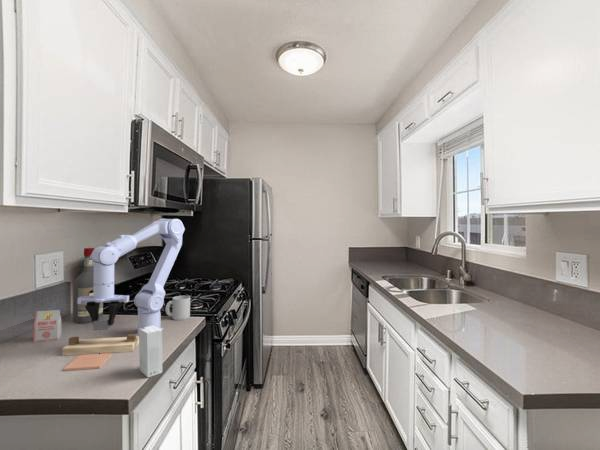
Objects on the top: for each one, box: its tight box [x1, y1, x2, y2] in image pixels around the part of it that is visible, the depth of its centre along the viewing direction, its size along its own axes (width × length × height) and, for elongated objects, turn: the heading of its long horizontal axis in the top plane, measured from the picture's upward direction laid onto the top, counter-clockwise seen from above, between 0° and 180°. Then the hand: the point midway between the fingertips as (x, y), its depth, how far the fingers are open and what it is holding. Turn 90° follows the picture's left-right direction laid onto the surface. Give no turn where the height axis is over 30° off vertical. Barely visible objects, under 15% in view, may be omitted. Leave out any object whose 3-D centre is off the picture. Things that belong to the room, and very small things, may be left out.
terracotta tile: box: [63, 353, 113, 372], centre depth 92 cm, size 9×9×1 cm
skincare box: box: [138, 325, 163, 378], centre depth 87 cm, size 6×4×12 cm
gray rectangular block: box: [92, 315, 114, 331], centre depth 101 cm, size 5×4×3 cm
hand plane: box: [61, 333, 139, 356], centre depth 101 cm, size 8×20×4 cm, turn 102°
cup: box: [165, 295, 191, 321], centre depth 134 cm, size 7×10×9 cm
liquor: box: [72, 247, 104, 324], centre depth 130 cm, size 9×9×30 cm
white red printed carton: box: [32, 309, 62, 342], centre depth 108 cm, size 4×7×10 cm, turn 111°
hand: (103, 324), depth 101 cm, fingers closed on gray rectangular block, 4 cm apart
